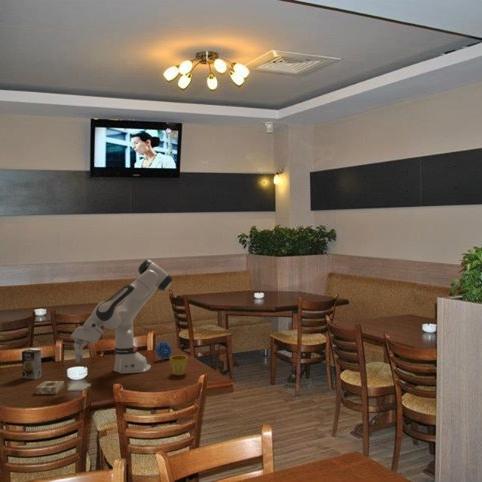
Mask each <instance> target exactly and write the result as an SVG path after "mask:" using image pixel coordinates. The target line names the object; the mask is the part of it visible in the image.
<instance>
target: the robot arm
mask: <svg viewBox="0 0 482 482" xmlns="http://www.w3.org/2000/svg"><path fill="white" fill-rule="evenodd" d="M137 269H138V273H139V276H137V278H136V279H134V281H133V282H132V283H130V284H127V285H124V286H123V287H121V288H120V289H118V291H116V292H115V293H114V294H113V295H112V296H110V297H109V298H108V299H107V300H105V301H100V302H99V303H98V304H97V305H96V306H95V307H94V309H93V311H92V312H91V314H90V316H89V317H87V319H86V320H85V322H84V323H83V324H82V325H79V326H78V327H76V329H75V330H74V331H73V332H72V333H71V335H70V338H71V339H73V341H74V343H73V346H72V347H74V348H75V345H74V344H75V343H82V344H81V345H80V346H79V348H80V349H82V350H83V349H84V347H85V346H87V345H88V344H92V345H95V344H97V342H98V341H99V339H100V338H101V337H102V335H103V334H104V332H105V331H104V330H103V328H102V327H103V326H104V327H105V328H107V329H108V330H114V337H115V338H114V340H115V343H114V344H115V347H114V356H115V361H114V367H113V371H114V372H117V373H119V374H135V373H146V372H149V371H150V370H151V368H152V366H151V364H148V361H147V358H146V357H145V356H144V355H142V354H141V353H140V352H138V346H135V345H134V344H135V343H134V319H135V318H136V317H137V315H138V314H139V312H140V311H141V310H142V309H143V307H144V306H145V305H146V303H147V302H148V301H149V300H150V299H151V297H152V296H153V295H154V294H155V292H156V290H157V291H166V290H167V289H169V288H170V287H171V285H172V282H173V278H172V276H171V275H170V274H169V273H168V272H167V271H166V270H165V269H163V268H162V267H161V266H159V265H158V264H156V263H155V262H154V261H152V259H145V260H143V261H141V263H140V264H139V266H138V268H137ZM121 303H122V304H121ZM120 304H121V305H120Z"/></svg>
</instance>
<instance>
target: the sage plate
mask: <svg viewBox="0 0 482 482" xmlns="http://www.w3.org/2000/svg"><path fill="white" fill-rule="evenodd" d="M91 386H92V383H73V384H72V385H70V387H68V388H67V392H83V391H82V390H83V389H84V388H87V387H89V388H90V387H91Z"/></svg>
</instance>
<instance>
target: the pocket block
mask: <svg viewBox="0 0 482 482" xmlns="http://www.w3.org/2000/svg"><path fill="white" fill-rule="evenodd" d="M64 388H65V380H50V381H49V380H44V381H42V382H41V383H40V384H38V385H37V386H36V387H35V394H36V395H53V394H54V395H57V394H59V392H61V391H62V390H63V389H64Z"/></svg>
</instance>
